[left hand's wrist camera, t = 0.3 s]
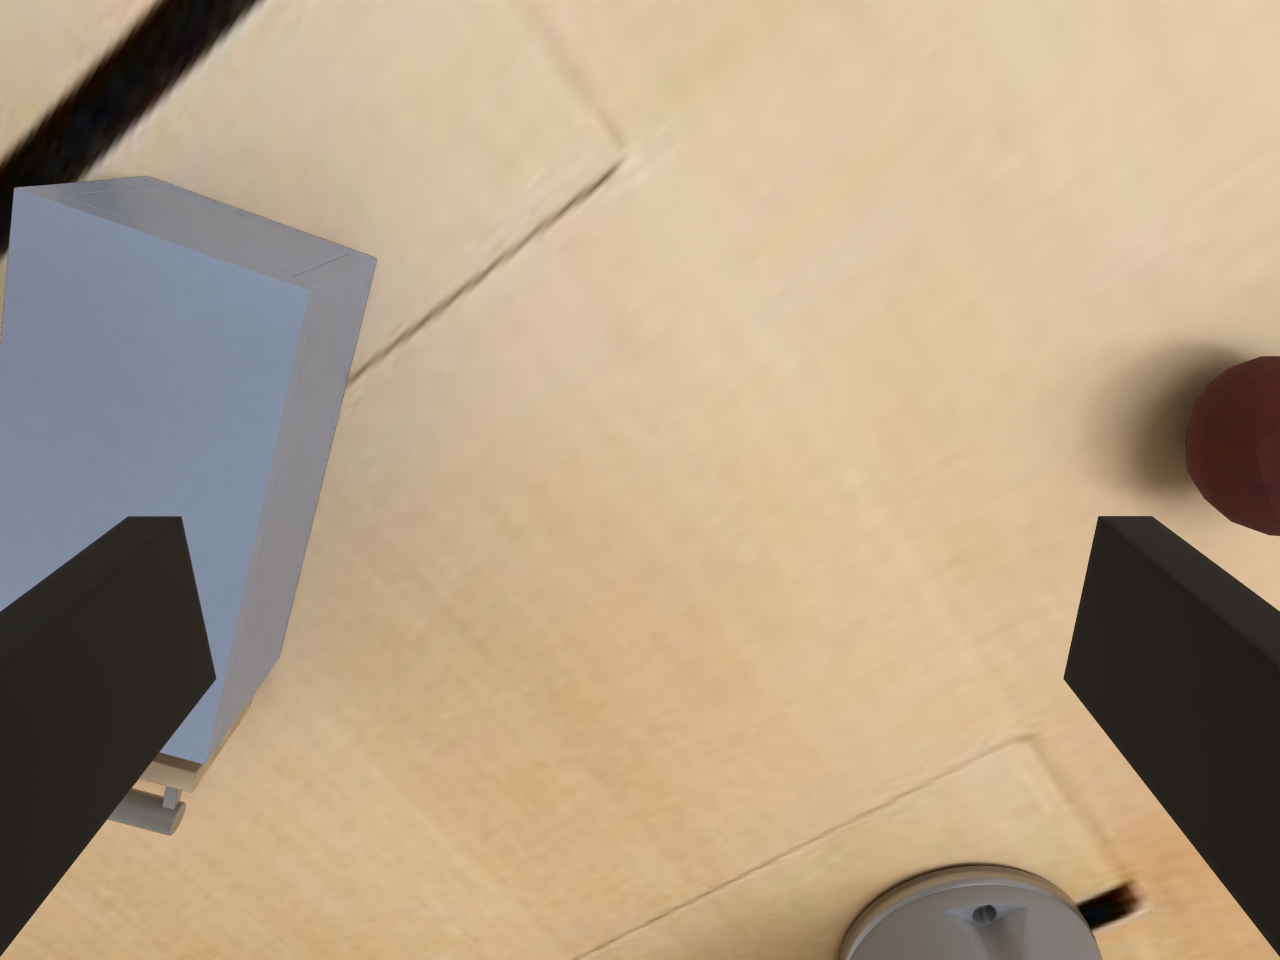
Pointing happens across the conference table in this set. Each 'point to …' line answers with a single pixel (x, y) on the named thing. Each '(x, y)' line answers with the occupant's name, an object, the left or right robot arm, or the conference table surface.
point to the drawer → (176, 777)
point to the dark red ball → (1239, 444)
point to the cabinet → (173, 401)
